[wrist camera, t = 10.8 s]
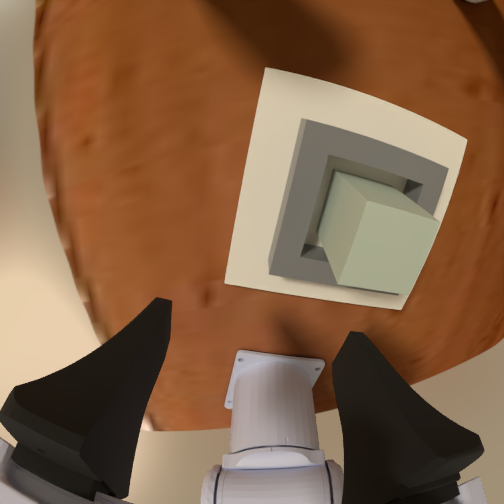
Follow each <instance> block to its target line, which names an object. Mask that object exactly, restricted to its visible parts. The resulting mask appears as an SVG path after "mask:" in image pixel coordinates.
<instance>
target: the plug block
mask: <svg viewBox="0 0 504 504" xmlns="http://www.w3.org/2000/svg"><path fill="white" fill-rule="evenodd" d="M440 223H441V222H440V221H438V220H437V219H436V218H435V217H433V216H432V215H431V214H429V213H428V212H427V211H426V210H424V209H423V208H422V207H420V206H419V205H418V204H416V203H415V202H414V201H412V200H411V199H409V198H408V197H407V196H405V195H404V194H402V193H401V192H400V191H398V190H397V189H395V188H394V187H392V186H391V185H387V184H384V183H381V182H378V181H374V180H371V179H367V178H364V177H360V176H357V175H353V174H350V173H346V172H342V171H338V170H334V169H333V172H332V176H331V179H330V183H329V187H328V191H327V194H326V198H325V201H324V205H323V208H322V212H321V215H320V219H319V222H318V226H317V229H316V231H317V234H318V236H319V239H320V241H321V243H322V246H323V248H324V251H325V253H326V256H327V258H328V261H329V263H330V266H331V268H332V271H333V273H334V276H335V278H336V281H337V284H340V285H346V286H353V287H359V288H365V289H372V290H378V291H385V292H391V293H398V294H405V295H409V293H410V291H411V289H412V287H413V285H414V283H415V280H416V278H417V276H418V274H419V272H420V270H421V268H422V266H423V263H424V261H425V259H426V257H427V254H428V252H429V250H430V247H431V245H432V243H433V240H434V238H435V235H436V233H437V230H438V228H439V225H440Z"/></svg>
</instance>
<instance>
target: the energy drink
mask: <svg viewBox="0 0 504 504" xmlns="http://www.w3.org/2000/svg"><path fill="white" fill-rule="evenodd" d="M465 1H468V2H471V3H480V2H483V1H487V0H465Z"/></svg>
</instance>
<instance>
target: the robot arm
mask: <svg viewBox="0 0 504 504" xmlns="http://www.w3.org/2000/svg"><path fill="white" fill-rule="evenodd" d="M171 312H172V301H171V300H167V299H162V298H158V297H157V298H155V299H154V300H153V301H152V302H151V303H150V304H149V305H148V306H147V307H146V308H145V309H144V310H143V311H142V312H141V313H140V314H139V315H138V316H137V317H136V318H134V319H133V320H132V321H131V322H130V323H129V324H128V325H127V326H125V327H124V328H123V329H122V330H121V331H120V332H118V333H117V334H116V335H115V336H113V337H112V338H111V339H110V340H108V341H107V342H106V343H104V344H103V345H102V346H100V347H99V348H97V349H96V350H94V351H93V352H92V353H90V354H88V355H87V356H85V357H83V358H81V359H80V360H78V361H76V362H75V363H73V364H71V365H69V366H67V367H65V368H63V369H61V370H59V371H56V372H55V373H52V374H50V375H48V376H45V377H43V378H40V379H37V380H34V381H31V382H28V383H25V384H22V385H18V386H15V387H14V388H13V390H12V391H11V393H10V394H9V396H8V398H7V399H6V401H5V403H4V405H3V407H2V409H1V410H0V422H1V423H2V425H3V426H4V427H5V428H6V430H7V431H8V432H9V433H10V434H11V435H12V436H13V437H14V438H15V440H17V442H18V443H17V445H16V447H15V448H14V447H13V446H12V445H11V444H9V443H8V442H6V441H5V440H4V439H2V438H0V504H133V503H130V502H126V501H123V500H121V499H123V498H126V497H127V496H128V494H129V486H130V479H131V473H132V467H133V461H134V456H135V451H136V446H137V442H138V437H139V432H140V428H141V424H142V420H143V416H144V412H145V409H146V406H147V403H148V401H149V398H150V395H151V393H152V390H153V388H154V385H155V383H156V380H157V377H158V375H159V372H160V370H161V367H162V365H163V362H164V360H165V356H166V352H167V348H168V345H169V341H170V332H171ZM240 358H242V359H240ZM324 366H325V362H324V360H322V359H312V358H302V357H293V356H284V355H276V354H268V353H261V352H254V351H247V350H239V351H238V352H237V354H236V358H235V362H234V366H233V371H232V375H231V379H230V383H229V387H228V391H227V395H226V400H225V404H224V406H225V407H226V408H228V409H232V420H231V433H230V445H229V454H224V455H223V461H222V465H214V466H213V467H212V469H211V470H209V471H208V472H207V474H206V475H205V478H204V481H203V485H202V490H201V504H487V500H486V496H485V493H484V489H483V486H482V483H481V480H480V477H476V478H474V479H471V480H469V481H467V482H464V483H462V484H460V485H457V482H456V481H458V480H459V479H460V474H459V472H460V471H461V470H463V469H465V468H466V467H467V466H469V465H470V464H471V463H473V462H474V461H476V460H477V459H478V458H479V457H480V456H481V455H482V454H483V452H484V447H483V445H482V442H481V440H480V437H479V435H477V434H476V433H474V432H472V431H470V430H468V429H465V428H464V427H462V426H460V425H458V424H457V423H455V422H453V421H452V420H450V419H449V418H447V417H446V416H444V415H443V414H441V413H440V412H439V411H437V410H436V409H435V408H433V407H432V406H431V405H430V404H429V403H427V402H426V401H425V400H424V399H423V398H422V397H420V395H418V394H417V393H416V392H415V391H414V390H413V389H412V388H411V387H410V386H409V385H408V384H407V383H406V382H405V381H404V379H403V378H402V377H401V376H400V375H399V374H398V373H397V372H396V371H395V369H394V368H393V367H392V366H391V365H390V364H389V362H388V361H387V360H386V359H385V358H384V356H383V355H382V354H381V353H380V352H379V350H378V349H377V348H376V347H375V346H374V344H373V343H372V342H371V341H370V340H369V338H368V337H367V336H366V335H365V334H364V333H363V332H354V331H350V333H349V334H348V336H347V338H346V340H345V342H344V344H343V345H342V347H341V349H340V351H339V353H338V354H337V356H336V358H335V360H334V361H333V363H332V371H333V385H334V390H335V395H336V401H337V406H338V410H339V416H340V421H341V425H342V433H343V445H344V473H343V470H342V468H341V466H340V465H338V464H337V463H335V461H334V460H325V457H324V450H319V442H318V433H317V426H316V417H315V409H314V402H313V394H312V388H313V386H314V384H315V382H316V381H317V379H318V377H319V375H320V373H321V372H322V370H323V368H324ZM317 367H318V368H317Z"/></svg>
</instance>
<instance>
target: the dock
mask: <svg viewBox="0 0 504 504" xmlns="http://www.w3.org/2000/svg"><path fill="white" fill-rule="evenodd" d="M466 144H467V139H465V138H463V137H462V136H460V135H458V134H456V133H454V132H452V131H450V130H448V129H446V128H445V127H443V126H441V125H439V124H436V123H434V122H432V121H430V120H428V119H426V118H424V117H422V116H420V115H417V114H415V113H413V112H411V111H408V110H406V109H404V108H401V107H399V106H396V105H394V104H391V103H389V102H386V101H384V100H381V99H378V98H376V97H373V96H370V95H367V94H365V93H362V92H359V91H356V90H353V89H350V88H346V87H343V86H340V85H337V84H333V83H330V82H326V81H323V80H319V79H316V78H312V77H308V76H304V75H300V74H296V73H291V72H287V71H282V70H277V69H272V68H267V67H266V68H265V72H264V77H263V82H262V86H261V91H260V96H259V101H258V106H257V111H256V115H255V120H254V125H253V130H252V135H251V140H250V145H249V151H248V156H247V161H246V166H245V171H244V176H243V182H242V187H241V192H240V198H239V203H238V209H237V214H236V219H235V225H234V231H233V236H232V242H231V247H230V253H229V259H228V265H227V270H226V276H225V282H224V283H226V284H231V285H237V286H243V287H249V288H254V289H260V290H266V291H272V292H278V293H285V294H291V295H297V296H304V297H310V298H317V299H323V300H330V301H337V302H344V303H351V304H358V305H366V306H373V307H381V308H388V309H396V310H401V309H402V307H403V305H404V304H405V302H406V300H407V298H408V296H409V295H405V294H398V293H391V292H385V291H378V290H372V289H365V288H359V287H353V286H346V285H340V284H337V281H336V278H335V276H334V273H333V271H332V268H331V266H330V263H329V261H328V258H327V256H326V253H325V251H324V248H323V246H322V243H321V241H320V239H319V236H318V234H317V231H316V229H317V226H318V222H319V219H320V215H321V212H322V208H323V205H324V201H325V198H326V194H327V191H328V187H329V183H330V179H331V176H332V172H333V169H334V170H338V171H342V172H346V173H350V174H353V175H357V176H360V177H364V178H367V179H371V180H374V181H378V182H381V183H384V184H387V185H391V186H392V187H394V188H395V189H397V190H398V191H400V192H401V193H402V194H404V195H405V196H407V197H408V198H409V199H411V200H412V201H414V202H415V203H416V204H418V205H419V206H420V207H422V208H423V209H424V210H426V211H427V212H428V213H429V214H431V215H432V216H433V217H435V218H436V219H437V220H438V221H440V222H442V220H443V217H444V214H445V212H446V209H447V206H448V203H449V201H450V198H451V195H452V192H453V189H454V186H455V183H456V179H457V176H458V173H459V170H460V166H461V163H462V159H463V155H464V152H465V148H466ZM440 225H441V223H440ZM440 225H439V228H440ZM439 228H438V230H439ZM438 230H437V233H438ZM437 233H436V235H437ZM436 235H435V237H436ZM434 240H435V238H434ZM434 240H433V242H434ZM432 245H433V243H432ZM432 245H431V247H432ZM431 247H430V249H431ZM429 252H430V250H429ZM429 252H428V254H429ZM428 254H427V256H428ZM426 258H427V257H426ZM425 261H426V259H425ZM425 261H424V263H425ZM424 263H423V265H424ZM422 267H423V266H422ZM421 269H422V268H421ZM420 272H421V270H420ZM420 272H419V274H420ZM419 274H418V276H419ZM418 276H417V278H418ZM417 278H416V280H417ZM416 280H415V282H416ZM414 284H415V283H414ZM413 286H414V285H413ZM412 288H413V287H412ZM411 290H412V289H411ZM410 292H411V291H410ZM409 294H410V293H409Z"/></svg>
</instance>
